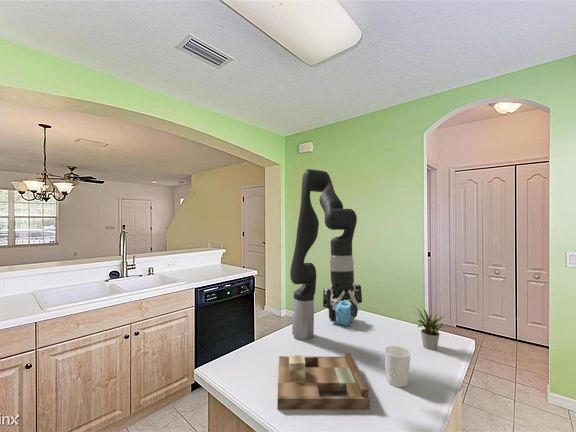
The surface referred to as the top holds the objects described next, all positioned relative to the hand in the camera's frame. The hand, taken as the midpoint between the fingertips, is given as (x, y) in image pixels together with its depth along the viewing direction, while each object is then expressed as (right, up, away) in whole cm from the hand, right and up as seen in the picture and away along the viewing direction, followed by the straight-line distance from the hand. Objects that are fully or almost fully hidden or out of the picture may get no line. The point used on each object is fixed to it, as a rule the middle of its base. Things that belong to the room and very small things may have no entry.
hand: (343, 318), depth 92 cm
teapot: (+10, -22, +53) cm, 58 cm away
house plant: (+40, -22, +27) cm, 53 cm away
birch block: (-15, -18, -1) cm, 24 cm away
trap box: (-8, -21, -1) cm, 23 cm away
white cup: (+18, -22, +1) cm, 28 cm away
